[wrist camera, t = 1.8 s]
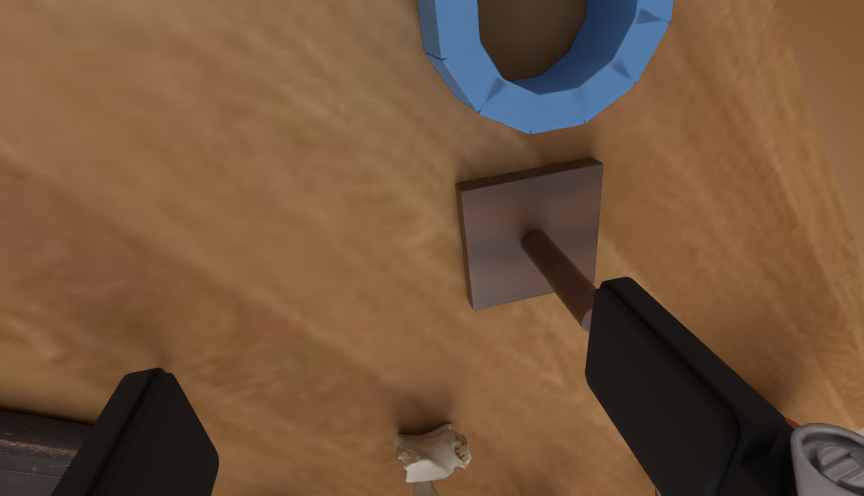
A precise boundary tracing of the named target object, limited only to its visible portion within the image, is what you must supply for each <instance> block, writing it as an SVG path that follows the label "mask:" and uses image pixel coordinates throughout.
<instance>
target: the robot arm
mask: <svg viewBox="0 0 864 496" xmlns="http://www.w3.org/2000/svg"><path fill="white" fill-rule="evenodd" d="M585 376H586V380H587V383H588V385H589V387H590V389H591V390H592V392H593V393H594V395H595V396H596V398H597V399H598V401H599V402H600V404H601V405H602V407H603V408H604V410H605V411H606V413H607V414H608V416H609V417H610V419H611V420H612V422H613V423H614V425H615V426H616V428H617V429H618V431H619V432H620V434H621V435H622V437H623V438H624V440H625V442H626V443H627V445H628V446H629V448H630V449H631V451H632V452H633V454H634V455H635V457H636V458H637V460H638V461H639V463H640V464H641V466H642V467H643V469H644V470H645V472H646V473H647V475H648V476H649V478H650V479H651V481H652V482H653V484H654V485H655V487H656V488H657V490H658V491H659V493H660V494H661V496H864V436H861V435H860V434H858V433H856V432H853V431H850V430H848V429H845V428H842V427H839V426H835V425H830V424H824V423H808V424H805V425H802V426H799V427H797V428H796V429H794V428H793V427H792V426H791V425H789V424H788V423H787V422H786V421H785V419H786V418H785V417H784V416H783V415H782V414H781V413H779V412H778V411H777V410H776V409H775V408H774V407H773V406H772V405H771V404H770V403H768V402H767V401H766V400H765V399H764V398H763V397H762V396H761V395H760V394H759V393H757V392H756V391H755V390H754V389H753V388H752V387H751V386H750V385H749V384H747V383H746V382H745V381H744V380H743V379H742V378H741V377H740V376H739V375H738V374H736V373H735V372H734V371H733V370H732V369H731V368H730V367H729V366H728V365H727V364H725V363H724V362H723V361H722V360H721V359H720V358H719V357H718V356H717V355H716V354H714V353H713V352H712V351H711V350H710V349H709V348H708V347H707V346H706V345H705V344H703V343H702V342H701V341H700V340H699V339H698V338H697V337H696V336H695V335H694V334H692V333H691V332H690V331H689V330H688V329H687V328H686V327H685V326H684V325H683V324H681V323H680V322H679V321H678V320H677V319H676V318H675V317H674V316H673V315H672V314H670V313H669V312H668V311H667V310H666V309H665V308H664V307H663V306H662V305H660V304H659V303H658V302H657V301H656V300H655V299H654V298H653V297H652V296H651V295H649V294H648V293H647V292H646V291H645V290H644V289H643V288H642V287H641V286H640V285H638V284H637V283H636V282H635V281H634V280H633V279H631V278H630V277H622V278H617V279H612V280H607V281H603V282H602V283H601V285H600V288H599V289H596V290H595V292H594V298H593V307H592V315H591V324H590V333H589V342H588V351H587V359H586V368H585ZM218 468H219V457H218V453H217V451H216V449H215V447H214V446H213V444H212V442H211V440H210V438H209V437H208V435H207V433H206V431H205V430H204V428H203V426H202V424H201V422H200V421H199V419H198V417H197V415H196V413H195V412H194V410H193V408H192V406H191V405H190V403H189V401H188V399H187V397H186V396H185V394H184V392H183V390H182V388H181V387H180V385H179V383H178V381H177V380H176V378H175V376H174V375H173V374H172V373H165V371H164V370H163V369H161V368H154V369H149V370H144V371H138V372H133V373H129V374H127V375H125V376H124V377H123V379H122V380H121V382H120V383H119V385H118V386H117V388H116V390H115V391H114V393H113V395H112V396H111V398H110V399H109V401H108V403H107V404H106V406H105V408H104V409H103V411H102V412H101V414H100V416H99V417H98V419H97V421H96V422H95V424H94V425H93V427H92V429H91V430H90V432H89V434H88V435H87V437H86V438H85V440H84V442H83V443H82V445H81V447H80V448H79V450H78V451H77V453H76V455H75V456H74V458H73V460H72V461H71V463H70V464H69V466H68V468H67V469H66V471H65V473H64V474H63V476H62V477H61V479H60V481H59V482H58V484H57V486H56V487H55V489H54V490H53V492H52V494H51V495H50V496H211V494H212V490H213V487H214V483H215V479H216V476H217V472H218Z"/></svg>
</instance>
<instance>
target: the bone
mask: <svg viewBox="0 0 864 496" xmlns="http://www.w3.org/2000/svg"><path fill="white" fill-rule="evenodd" d="M451 427H452V424H445V425H443V426H441V427H439V428H437V429H435V430H433V431H431V432H429V433H426V434H422V435H403V434H400V433H398V436H397V435H394V443H395V445H396V446H397V450H396V453H397V456H398V459H402V461H403V465H404V468H405V469H406V470H407V476H406V481H407V482H414V488H413V490H414V496H439V495H438V494H437V492H436V490H435V488H434V486H433V483H432V480H438V479H443V478H446V477H448V476H449V475H450V474H451V473H453V470H454V468H455V467H456V466H460V467H462V468H467V465H468V464H469V462H470V460H471V454H470V449H469V442H468V440H467V438H466V437H465V436H464V435H462V434H459V433H458V432H457V431H455V430H449V429H451Z"/></svg>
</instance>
